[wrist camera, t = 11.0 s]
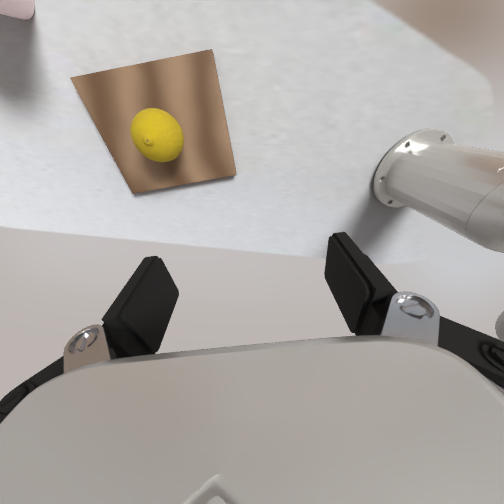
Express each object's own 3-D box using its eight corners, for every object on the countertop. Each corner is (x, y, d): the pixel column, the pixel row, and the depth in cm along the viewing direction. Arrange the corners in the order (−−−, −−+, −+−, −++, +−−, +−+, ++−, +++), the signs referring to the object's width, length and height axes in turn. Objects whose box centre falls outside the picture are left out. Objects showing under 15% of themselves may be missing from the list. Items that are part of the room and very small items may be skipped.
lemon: (165, 162, 28) (145, 177, 22) (137, 121, 25) (104, 124, 19) (197, 144, 27) (185, 154, 21) (172, 99, 24) (149, 95, 18)
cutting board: (213, 52, 23) (211, 49, 22) (236, 172, 31) (236, 174, 30) (78, 79, 24) (69, 77, 22) (136, 190, 32) (132, 193, 31)
